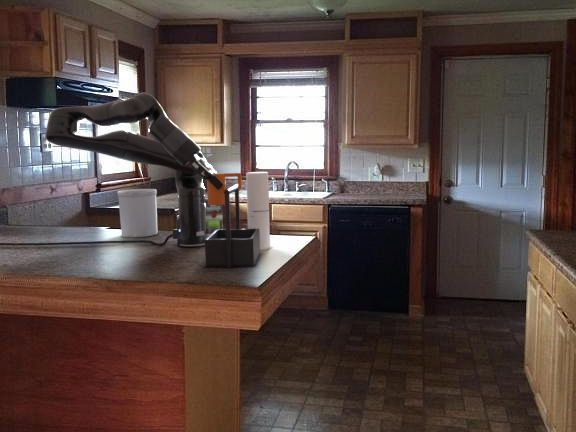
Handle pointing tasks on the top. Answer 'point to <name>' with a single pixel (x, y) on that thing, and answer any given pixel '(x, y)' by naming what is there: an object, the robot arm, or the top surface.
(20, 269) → the top surface
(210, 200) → the measuring cup
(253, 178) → the cylindrical container
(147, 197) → the utensil holder
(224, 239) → the basket
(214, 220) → the coffee can
